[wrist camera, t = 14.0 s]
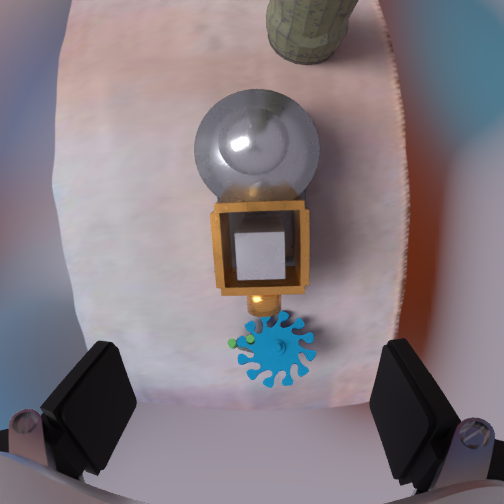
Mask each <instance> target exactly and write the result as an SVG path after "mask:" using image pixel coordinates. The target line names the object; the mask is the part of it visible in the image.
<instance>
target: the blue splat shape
mask: <svg viewBox="0 0 504 504" xmlns="http://www.w3.org/2000/svg"><path fill="white" fill-rule="evenodd" d="M288 317H289V314H288V313H286V312H284V311H280V312H279V316H278V321H277V323H276V324H275V325H274V326H273V327H272V328H269V327H268V326H267V325H266V324H267V323H268V322H269V321H270V319H271V316H270V317H261V321H262V322H263V330H262V332H261V333H260V334H257V333H255V323H254V322H253V321H250V322H248V323H247V324H245V328H246V330H247V331H249V332H250V333H251V334H252V335H248V336H247V337H246V338H245V337H244V336H240V337H239V338H238V339H237V340H236V341H235V340H234V339H230V340H229V341H228V345H229V347H230V348H232V349H234V348H236V347H237V348H238V349H240V350H243V351H248V352H252V353H254V357H253V358H248V357H247V356H246V355H244V354H239V355H238V363H239V364H240V365H243V364H246V363H248V362H255V363H259V364H260V365H261V368H260V369H259V370H253V369H250V370H248V371H247V375H248V377H249V378H250V379H251V380H254V379H255V378H256V377H257V376H258V374H260V373H261V372H263V371H266V370H270V371H272V376H271V377H269V378H266V379H265V380H264V381H263V384H264V385H265V386H267V387H269V388H271V387H272V386H273V385H274V378H275V376H276V375H277V373H278V372H279V371H281V370H283V371H285V372H286V377H285V378H284V379H283V380H282V385H284V386H289V385H292V384H293V379H292V378H291V375H290V368H291V365H292V364H297V365H298V375H299V376H300V377H301V376H304V375H305V374H307V373H308V372H309V369H308V368H307V367H305V366H304V365H302V363H301V362H300V360H299V358H298V354H299V353H304V354H305V356H306V359H307V360H309V361H312V360H313V359H314V357H315V355H316V351H314V350H306V349H304V348H302V347H301V346H300V345H299V344H298V341H299V340H304V341H305V342H306V343H309V344H310V343H312V342H313V341H314V335H313V333H312V332H309V333H307V334H305V335H294V334H293V333H292V329H302V328H303V327H304V325H305V324H304V322H303V321H302V319H301V318H298V319H296V321H295V322H294V324H292V325H291V326H289V327H286V328H282V327H281V326H280V323H282V322H285V321H287V320H288Z"/></svg>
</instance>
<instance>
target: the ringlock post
mask: <svg viewBox="0 0 504 504" xmlns="http://www.w3.org/2000/svg"><path fill="white" fill-rule="evenodd" d="M194 154H195V161H196V165H197V169H198V171H199V174H200V176H201V178H202V180H203V181H204V183H205V184H206V185H207V187H208V188H209V189H210V190H211V191H212V192H213V193H214V194H215V195H216V196H217V198H218V202H217V203H215V204H214V211H213V212H211V213H210V218H211V231H212V243H213V255H214V266H215V277H216V287H217V288H221V296H243V295H247V309H248V312H249V313H250V314H251V315H253V316H257V317H270V316H274V315H276V314H278V313H279V312H280V311H281V295H282V294H305V286H309V254H310V230H309V209H308V208H307V207H306V202H305V188H306V187H307V186H308V185H309V183H310V182H311V180H312V178H313V176H314V174H315V172H316V170H317V166H318V163H319V157H320V143H319V137H318V133H317V130H316V128H315V125H314V123H313V121H312V120H311V118H310V116H309V115H308V114H307V112H306V111H305V110H304V109H303V108H302V107H301V106H300V105H299V104H298V103H296V102H295V101H294V100H292V99H291V98H289V97H287V96H285V95H283V94H280V93H278V92H274V91H271V90H264V89H250V90H244V91H240V92H236V93H234V94H231V95H229V96H227V97H225V98H224V99H222V100H221V101H219V102H218V103H216V104H215V105H214V106H213V107H212V108H211V109H210V110H209V111H208V113H207V114H206V115H205V117H204V118H203V120H202V122H201V124H200V126H199V128H198V131H197V134H196V138H195V145H194ZM275 214H280V218H281V221H282V225H283V229H284V236H285V279H263V280H238V279H237V264H236V249H235V232H236V230H237V228H238V226H239V225H240V223H241V221H242V219H243V217H244V216H247V215H275Z"/></svg>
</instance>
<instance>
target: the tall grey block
mask: <svg viewBox="0 0 504 504" xmlns="http://www.w3.org/2000/svg"><path fill="white" fill-rule="evenodd" d="M235 249H236V264H237V279H238V280H263V279H285V236H284V229H283V225H282V221H281V218H280V214H275V215H247V216H244V217H243V219H242V221H241V223H240V225H239V226H238V228H237V230H236V232H235Z"/></svg>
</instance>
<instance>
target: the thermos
mask: <svg viewBox="0 0 504 504" xmlns="http://www.w3.org/2000/svg"><path fill="white" fill-rule="evenodd" d="M357 2H358V0H270V2H269V4H268V7H267V14H266V28H267V31H268V39H269V42H270V45H271V47H272V48H273V49H274V51H275V52H276V53H277V54H278V55H280V56H281V57H282V58H284V59H285V60H288V61H290V62H293V63H295V64H303V65H312V64H318V63H321V62H323V61H325V60H327V59H328V58H329V57H330V56H331V55H332V54H333V53H334V51H335V50H336V49H337V48H338V47H339V45H340V43H341V42H342V40H343V38H344V37H345V35H346V33H347V30H348V18H349V17H350V15H351V13H352V11H353V9H354V7H355V6H356V4H357Z"/></svg>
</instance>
